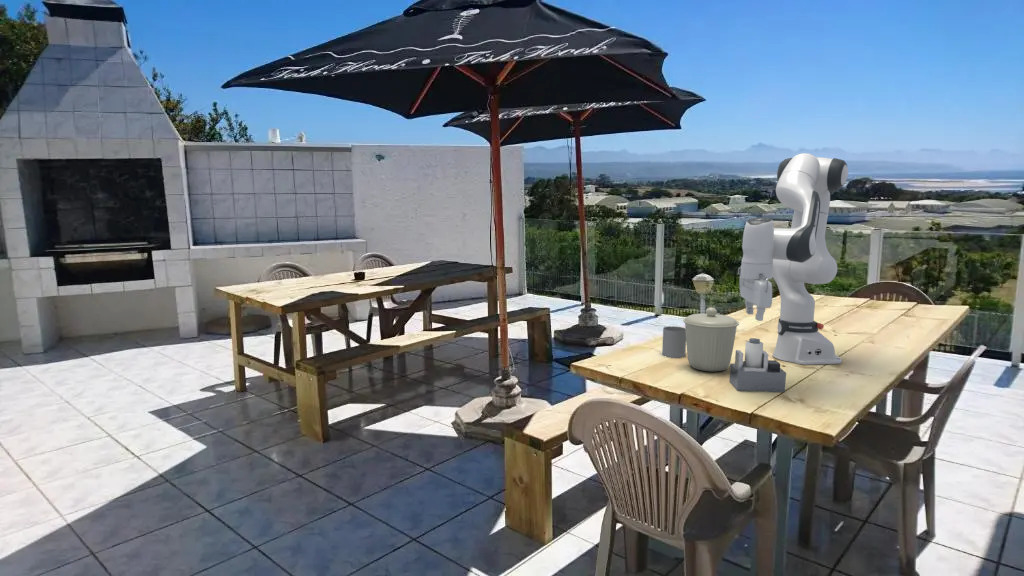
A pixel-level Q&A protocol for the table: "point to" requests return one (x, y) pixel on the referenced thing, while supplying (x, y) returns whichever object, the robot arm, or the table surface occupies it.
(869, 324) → the table surface
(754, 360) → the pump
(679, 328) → the cup
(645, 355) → the table surface
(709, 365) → the canister
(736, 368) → the grey holder stand
